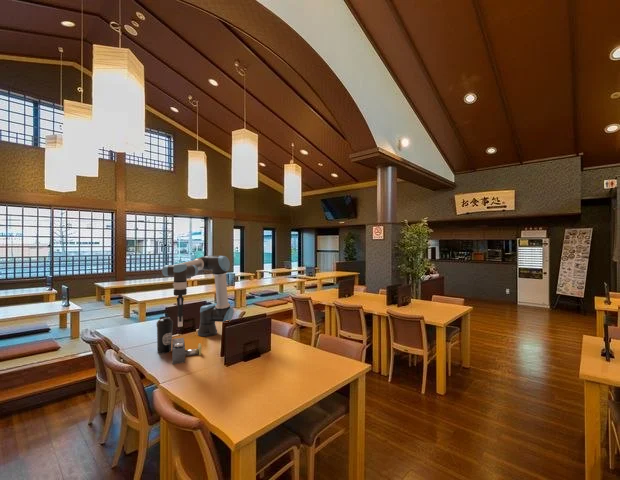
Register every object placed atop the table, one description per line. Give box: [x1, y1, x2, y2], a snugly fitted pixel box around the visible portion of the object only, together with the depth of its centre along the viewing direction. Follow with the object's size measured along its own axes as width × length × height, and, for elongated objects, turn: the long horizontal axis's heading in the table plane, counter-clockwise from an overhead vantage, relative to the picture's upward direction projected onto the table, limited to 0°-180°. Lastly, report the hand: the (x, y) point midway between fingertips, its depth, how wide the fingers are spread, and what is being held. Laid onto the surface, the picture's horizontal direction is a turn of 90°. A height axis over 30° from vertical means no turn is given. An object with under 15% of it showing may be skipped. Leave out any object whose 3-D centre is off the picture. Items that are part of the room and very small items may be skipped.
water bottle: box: [156, 315, 174, 354], centre depth 207 cm, size 10×10×23 cm
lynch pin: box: [185, 342, 203, 357], centre depth 201 cm, size 10×7×6 cm, turn 115°
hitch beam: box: [171, 337, 186, 365], centre depth 196 cm, size 22×7×11 cm, turn 25°
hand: (180, 326), depth 191 cm, fingers closed
